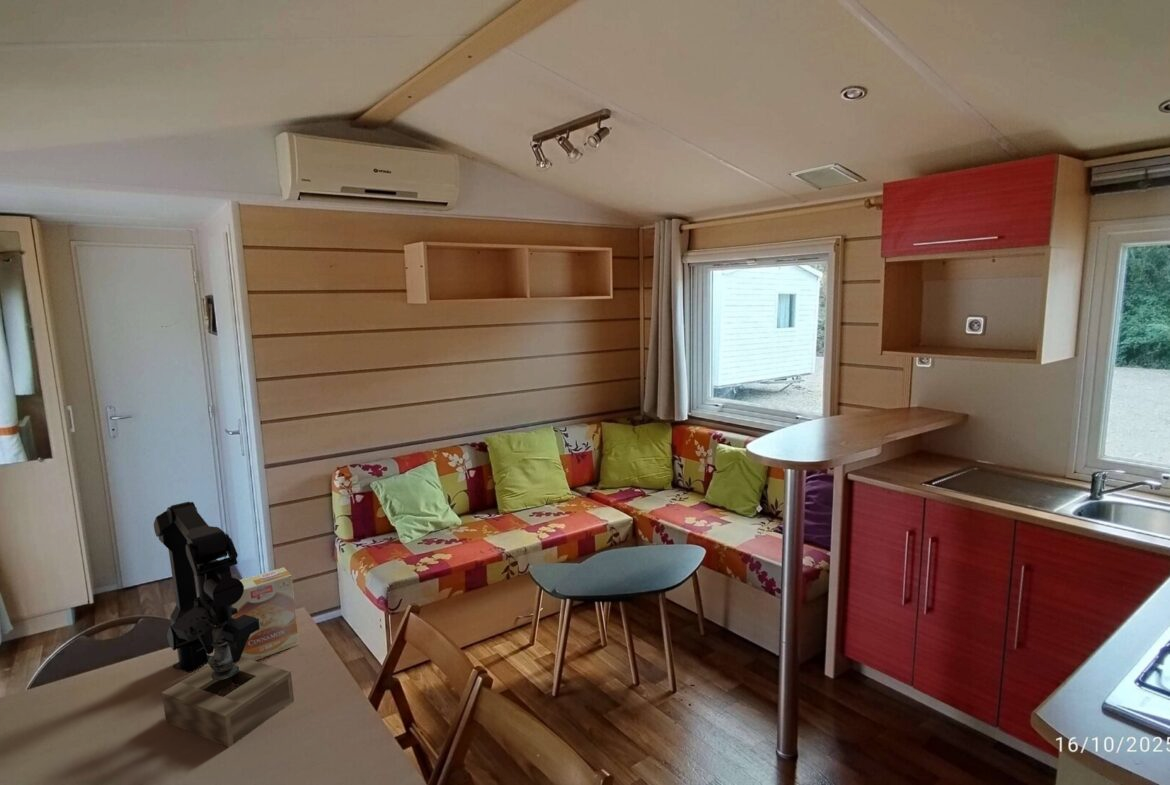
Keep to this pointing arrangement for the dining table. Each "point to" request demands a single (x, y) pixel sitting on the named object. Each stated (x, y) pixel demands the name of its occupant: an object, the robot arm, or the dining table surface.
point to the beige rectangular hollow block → (228, 701)
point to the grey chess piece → (221, 657)
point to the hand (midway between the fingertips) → (223, 657)
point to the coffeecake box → (269, 613)
